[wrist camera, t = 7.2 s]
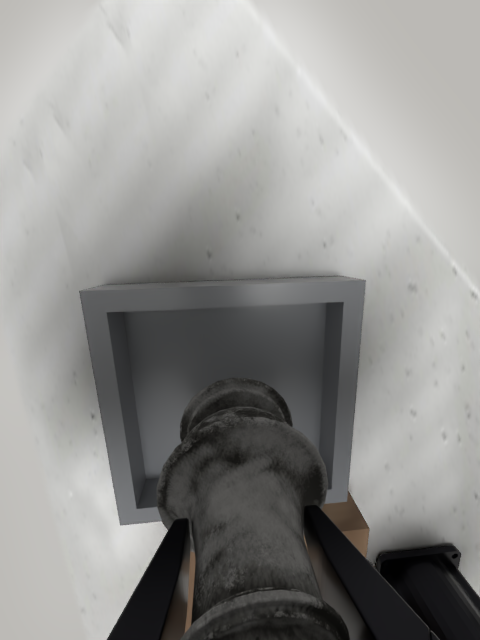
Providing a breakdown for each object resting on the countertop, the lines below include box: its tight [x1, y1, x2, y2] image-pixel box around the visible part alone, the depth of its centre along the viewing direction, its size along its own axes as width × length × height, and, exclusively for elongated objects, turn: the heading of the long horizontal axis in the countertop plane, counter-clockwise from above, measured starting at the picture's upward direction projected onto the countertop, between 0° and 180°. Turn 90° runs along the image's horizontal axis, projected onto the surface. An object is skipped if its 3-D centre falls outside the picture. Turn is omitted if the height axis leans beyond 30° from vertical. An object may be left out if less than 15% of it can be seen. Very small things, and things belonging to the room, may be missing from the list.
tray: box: [79, 276, 366, 525], centre depth 15 cm, size 13×13×3 cm
